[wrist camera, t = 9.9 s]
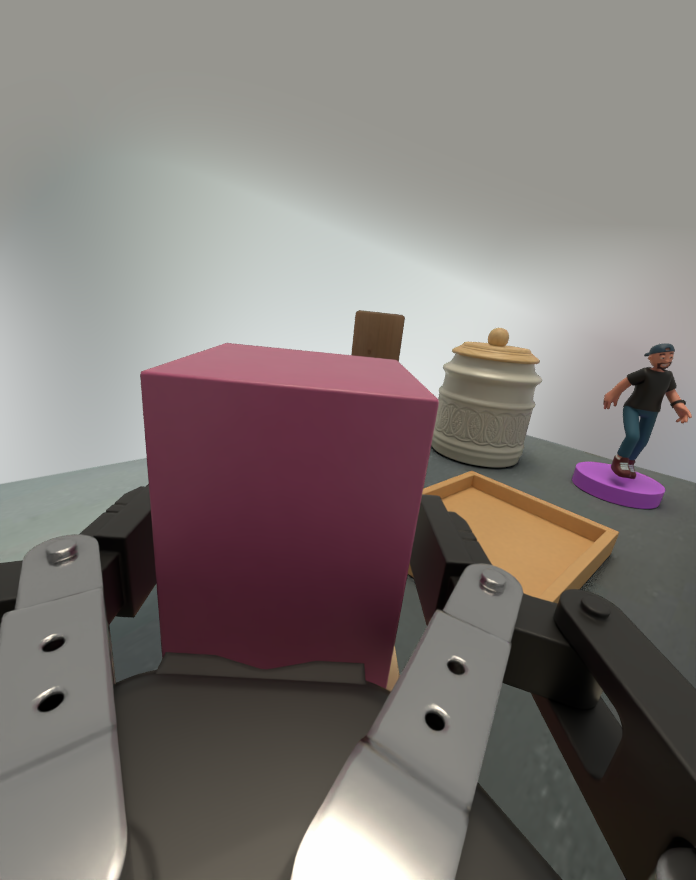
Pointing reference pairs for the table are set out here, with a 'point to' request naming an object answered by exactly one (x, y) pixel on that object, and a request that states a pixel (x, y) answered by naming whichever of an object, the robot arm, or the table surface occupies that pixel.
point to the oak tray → (527, 534)
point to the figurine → (634, 435)
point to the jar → (486, 402)
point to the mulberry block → (284, 502)
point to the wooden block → (377, 335)
